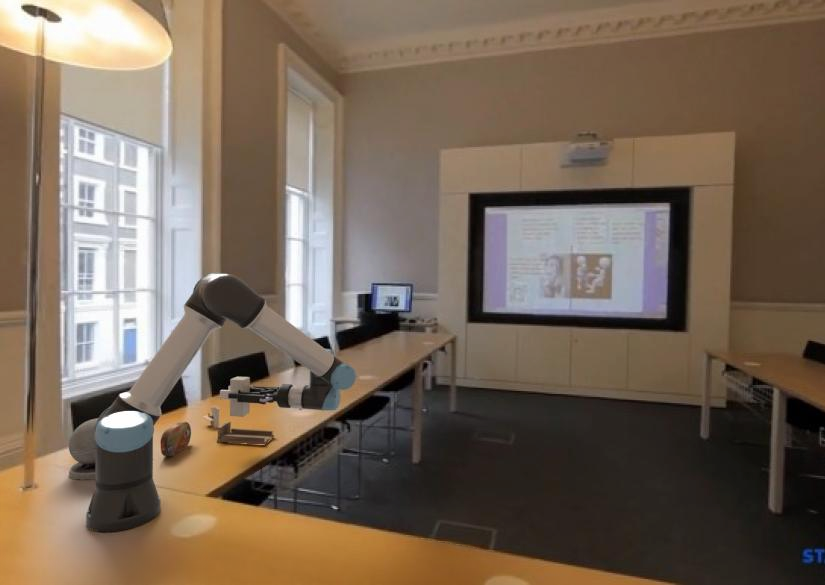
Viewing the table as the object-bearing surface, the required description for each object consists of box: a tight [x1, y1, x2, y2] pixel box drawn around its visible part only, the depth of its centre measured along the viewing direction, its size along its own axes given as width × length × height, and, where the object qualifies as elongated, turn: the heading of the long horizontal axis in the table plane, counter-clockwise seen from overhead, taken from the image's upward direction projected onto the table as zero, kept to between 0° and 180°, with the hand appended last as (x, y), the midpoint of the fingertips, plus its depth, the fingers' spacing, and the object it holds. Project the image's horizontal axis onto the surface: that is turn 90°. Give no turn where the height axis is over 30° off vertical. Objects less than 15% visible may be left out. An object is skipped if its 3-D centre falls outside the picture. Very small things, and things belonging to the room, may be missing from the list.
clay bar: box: [229, 376, 251, 418], centre depth 158 cm, size 4×4×12 cm
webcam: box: [68, 417, 99, 480], centre depth 138 cm, size 13×13×15 cm
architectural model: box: [202, 405, 220, 428], centre depth 181 cm, size 3×7×7 cm, turn 45°
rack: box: [216, 420, 275, 445], centre depth 167 cm, size 8×17×5 cm, turn 83°
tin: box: [160, 421, 192, 457], centre depth 155 cm, size 15×3×8 cm, turn 179°
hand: (224, 392), depth 159 cm, fingers closed on clay bar, 4 cm apart
